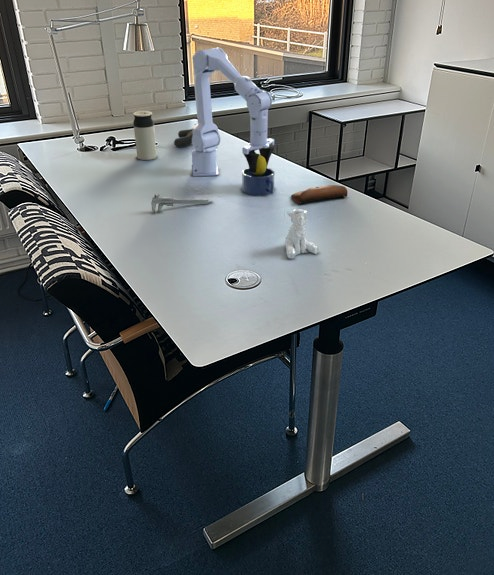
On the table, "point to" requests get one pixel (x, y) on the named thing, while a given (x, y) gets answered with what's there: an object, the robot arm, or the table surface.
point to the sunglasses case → (319, 193)
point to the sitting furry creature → (298, 235)
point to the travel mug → (144, 135)
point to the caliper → (174, 202)
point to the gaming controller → (184, 138)
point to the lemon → (260, 166)
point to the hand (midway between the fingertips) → (258, 169)
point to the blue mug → (258, 182)
